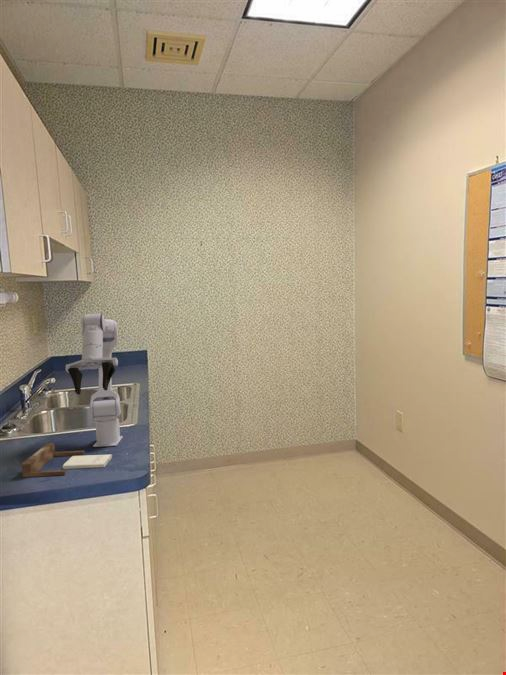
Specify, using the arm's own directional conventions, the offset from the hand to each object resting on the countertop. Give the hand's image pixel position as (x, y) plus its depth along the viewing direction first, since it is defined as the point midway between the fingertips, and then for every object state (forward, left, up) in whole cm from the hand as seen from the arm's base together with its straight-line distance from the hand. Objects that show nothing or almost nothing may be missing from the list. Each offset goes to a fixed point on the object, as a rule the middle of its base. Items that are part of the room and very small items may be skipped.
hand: (91, 391), depth 123 cm
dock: (-10, -16, -25) cm, 31 cm away
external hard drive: (-10, -6, -25) cm, 28 cm away
